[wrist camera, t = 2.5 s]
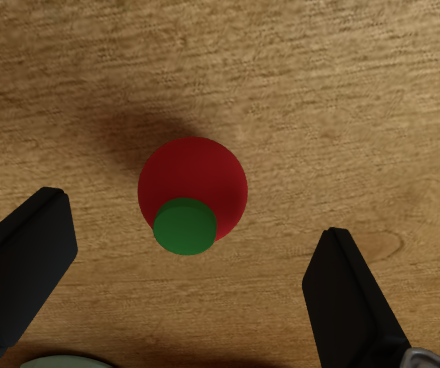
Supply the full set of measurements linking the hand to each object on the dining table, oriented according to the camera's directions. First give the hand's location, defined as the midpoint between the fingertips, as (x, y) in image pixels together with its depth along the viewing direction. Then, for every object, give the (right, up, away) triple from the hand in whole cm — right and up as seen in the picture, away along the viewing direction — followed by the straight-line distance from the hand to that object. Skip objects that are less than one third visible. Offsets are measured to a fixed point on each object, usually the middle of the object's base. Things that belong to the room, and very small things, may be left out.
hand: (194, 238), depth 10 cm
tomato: (0, +3, +5) cm, 6 cm away
